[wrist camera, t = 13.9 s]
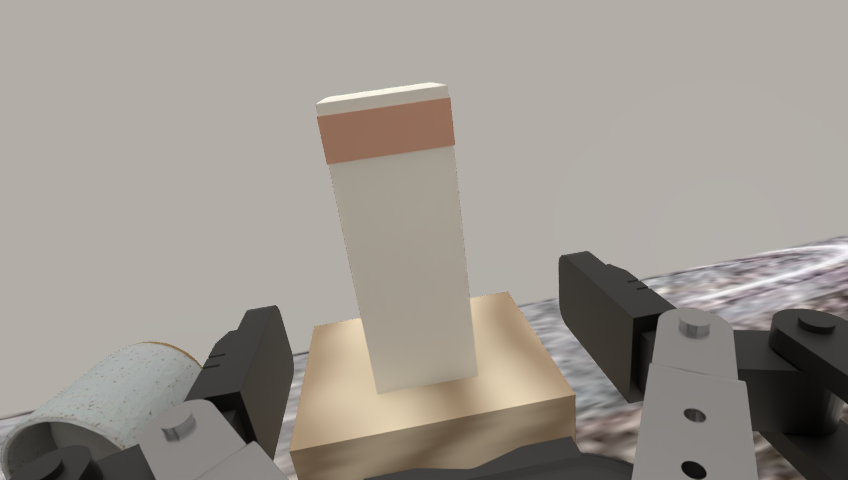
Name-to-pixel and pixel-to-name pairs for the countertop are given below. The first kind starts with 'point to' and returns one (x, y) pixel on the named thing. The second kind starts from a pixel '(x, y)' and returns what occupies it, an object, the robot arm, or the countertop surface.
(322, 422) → the tan wooden block
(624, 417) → the countertop surface
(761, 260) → the countertop surface
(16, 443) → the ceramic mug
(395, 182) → the carton
